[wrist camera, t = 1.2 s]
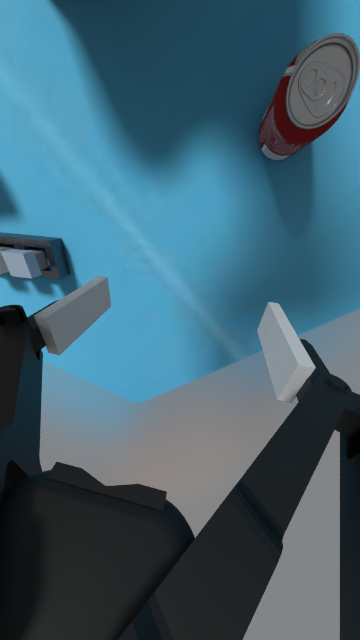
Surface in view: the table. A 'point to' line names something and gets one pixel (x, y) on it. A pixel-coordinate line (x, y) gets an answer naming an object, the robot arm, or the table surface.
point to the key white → (0, 264)
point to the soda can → (310, 96)
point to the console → (30, 242)
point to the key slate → (25, 262)
